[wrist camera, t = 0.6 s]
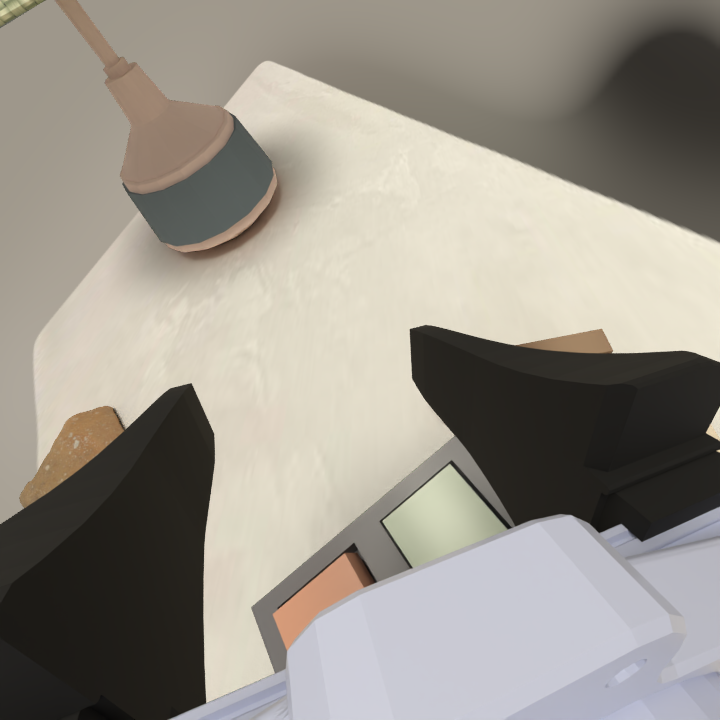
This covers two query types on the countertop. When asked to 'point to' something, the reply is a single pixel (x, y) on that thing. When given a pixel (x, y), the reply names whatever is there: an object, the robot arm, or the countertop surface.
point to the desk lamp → (177, 152)
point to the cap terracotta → (321, 595)
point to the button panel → (372, 540)
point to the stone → (73, 450)
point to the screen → (575, 343)
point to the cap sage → (441, 519)
